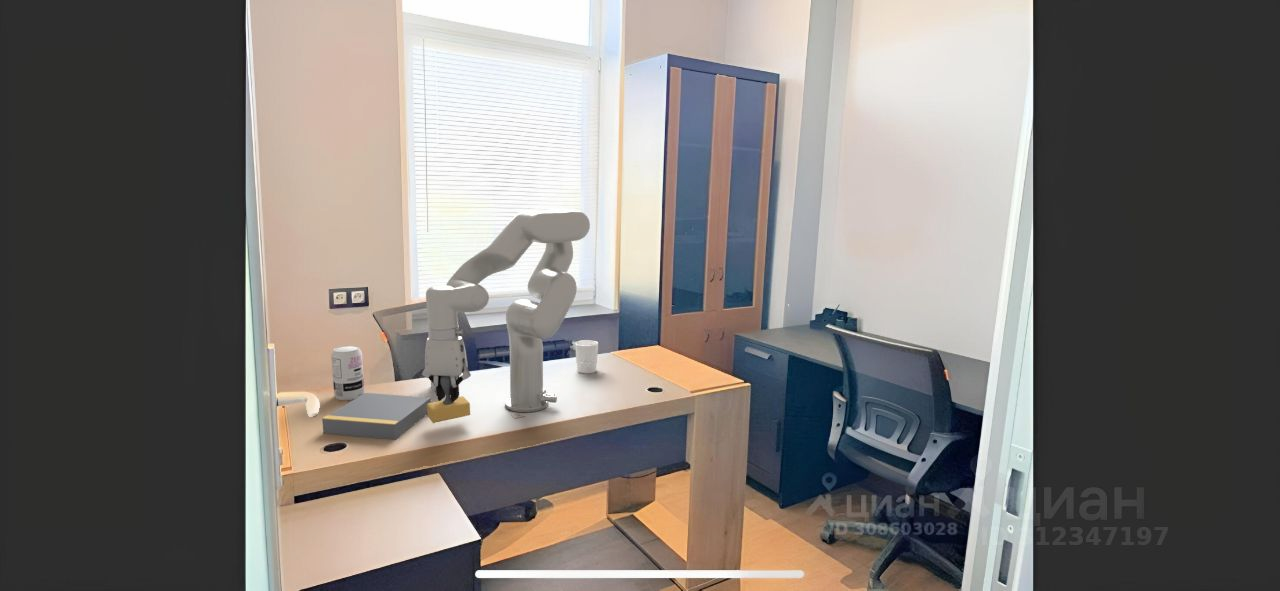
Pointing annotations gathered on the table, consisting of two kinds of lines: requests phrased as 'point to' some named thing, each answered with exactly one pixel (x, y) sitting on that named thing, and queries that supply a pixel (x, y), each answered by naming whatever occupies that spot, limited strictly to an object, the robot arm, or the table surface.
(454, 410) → the rubber stamp
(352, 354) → the supplement can
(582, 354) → the white cup
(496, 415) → the table surface
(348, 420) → the block
